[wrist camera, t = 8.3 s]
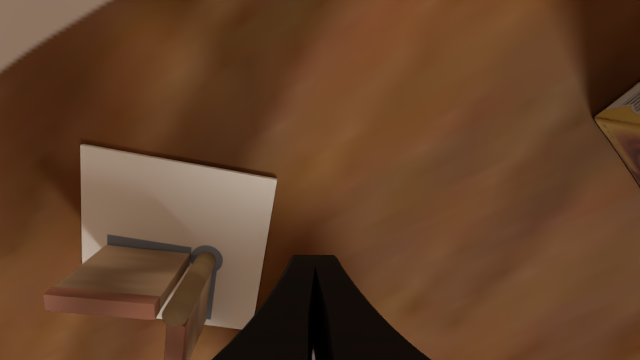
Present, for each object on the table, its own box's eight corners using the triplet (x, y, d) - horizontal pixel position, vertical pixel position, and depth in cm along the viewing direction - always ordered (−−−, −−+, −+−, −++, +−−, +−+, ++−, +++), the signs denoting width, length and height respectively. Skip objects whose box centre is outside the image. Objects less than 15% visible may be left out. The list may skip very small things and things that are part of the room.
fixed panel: (210, 317, 22) (180, 390, 17) (192, 314, 22) (156, 387, 16) (218, 250, 20) (188, 307, 15) (199, 247, 20) (162, 304, 15)
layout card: (252, 327, 22) (251, 331, 22) (85, 305, 21) (82, 309, 21) (277, 178, 19) (276, 180, 19) (83, 143, 18) (79, 145, 18)
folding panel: (189, 252, 20) (154, 304, 15) (189, 265, 20) (154, 320, 15) (105, 244, 19) (43, 294, 15) (106, 257, 20) (45, 310, 15)
